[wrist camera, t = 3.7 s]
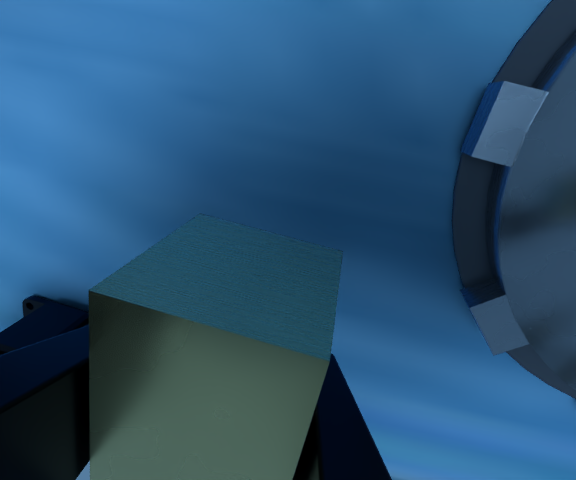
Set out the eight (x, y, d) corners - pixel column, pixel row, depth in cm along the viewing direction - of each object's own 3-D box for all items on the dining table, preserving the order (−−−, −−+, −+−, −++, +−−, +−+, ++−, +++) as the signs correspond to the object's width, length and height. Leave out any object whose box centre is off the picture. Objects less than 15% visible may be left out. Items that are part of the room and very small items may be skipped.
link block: (298, 405, 11) (264, 567, 7) (181, 369, 11) (89, 506, 7) (342, 251, 9) (329, 361, 5) (199, 213, 9) (89, 290, 5)
